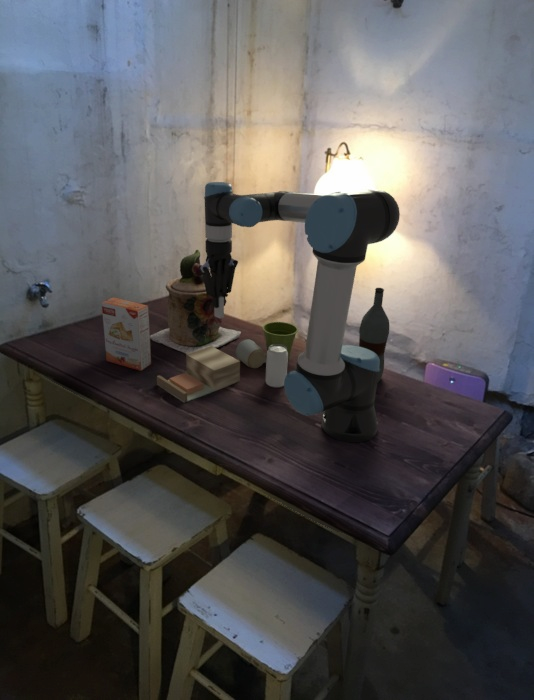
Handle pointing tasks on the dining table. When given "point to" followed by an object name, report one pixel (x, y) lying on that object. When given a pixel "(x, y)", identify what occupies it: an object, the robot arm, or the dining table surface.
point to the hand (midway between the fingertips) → (219, 316)
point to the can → (276, 365)
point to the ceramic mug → (250, 354)
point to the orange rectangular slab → (187, 383)
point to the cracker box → (127, 333)
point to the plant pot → (280, 334)
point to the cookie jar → (192, 313)
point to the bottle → (375, 329)
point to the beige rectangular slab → (213, 368)
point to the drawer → (179, 392)
